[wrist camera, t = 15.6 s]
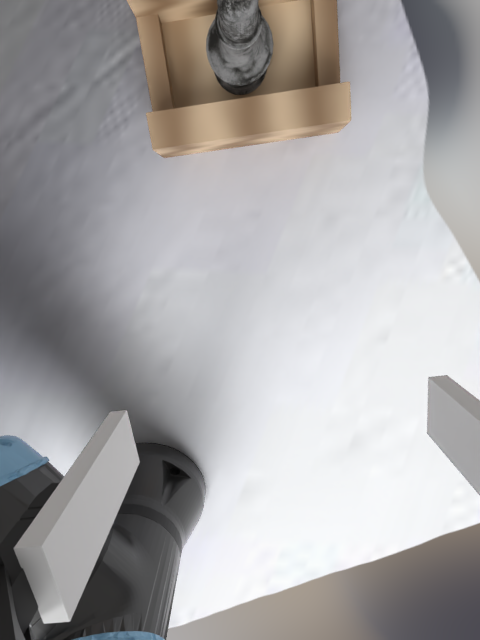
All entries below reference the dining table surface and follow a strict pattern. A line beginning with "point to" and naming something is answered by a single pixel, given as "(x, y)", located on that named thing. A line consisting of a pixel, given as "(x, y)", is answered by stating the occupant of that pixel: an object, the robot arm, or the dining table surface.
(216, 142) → the well block
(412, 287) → the dining table surface
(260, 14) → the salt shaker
